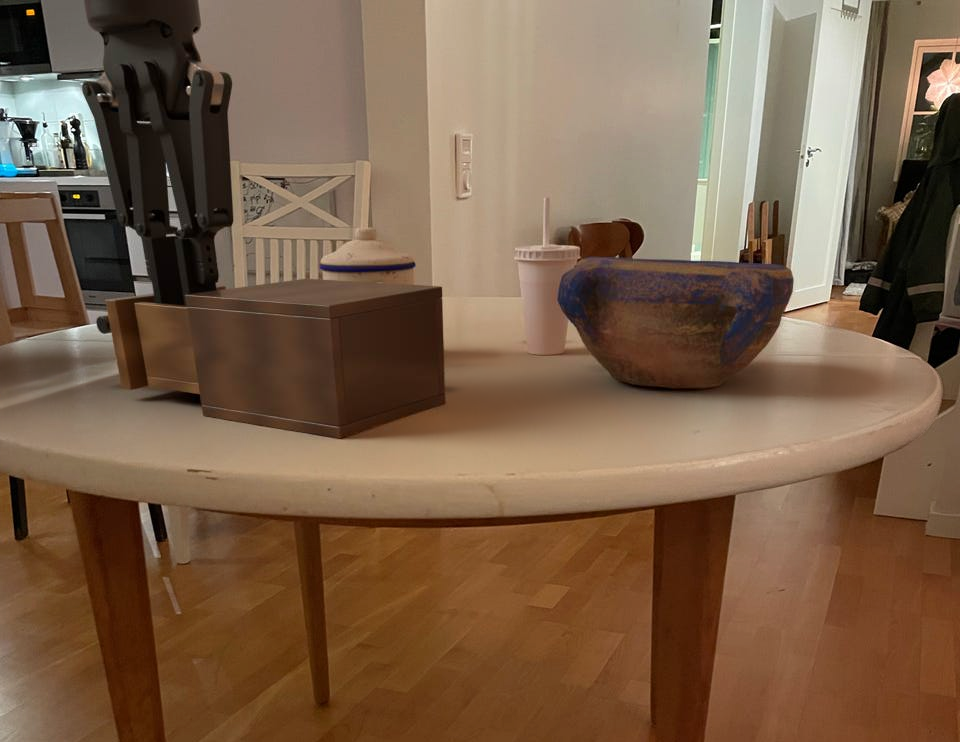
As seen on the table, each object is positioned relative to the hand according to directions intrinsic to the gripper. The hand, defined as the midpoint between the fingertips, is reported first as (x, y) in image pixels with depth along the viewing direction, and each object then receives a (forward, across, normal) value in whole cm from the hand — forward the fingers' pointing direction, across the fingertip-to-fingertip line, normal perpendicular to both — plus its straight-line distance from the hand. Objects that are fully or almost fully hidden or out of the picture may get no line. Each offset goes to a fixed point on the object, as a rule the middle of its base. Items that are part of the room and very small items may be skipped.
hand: (190, 326), depth 73 cm
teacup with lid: (+6, +2, +21) cm, 22 cm away
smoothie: (+6, +14, +32) cm, 36 cm away
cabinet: (+6, +12, +2) cm, 13 cm away
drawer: (+5, -1, +2) cm, 5 cm away
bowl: (+6, +30, +25) cm, 40 cm away
